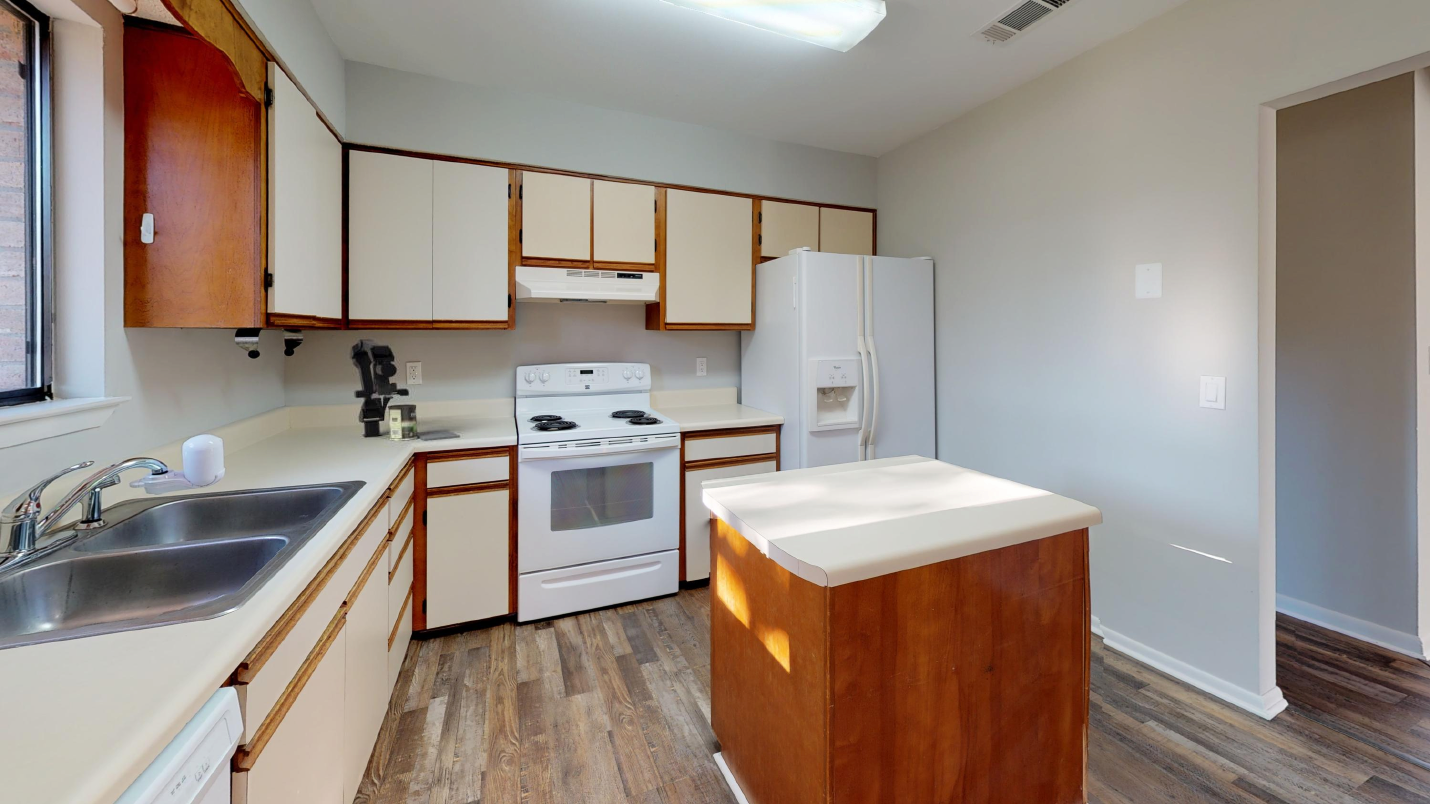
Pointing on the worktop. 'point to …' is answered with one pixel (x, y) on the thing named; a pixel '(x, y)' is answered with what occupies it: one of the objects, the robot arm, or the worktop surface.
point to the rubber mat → (436, 435)
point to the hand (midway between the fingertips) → (383, 414)
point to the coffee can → (402, 422)
